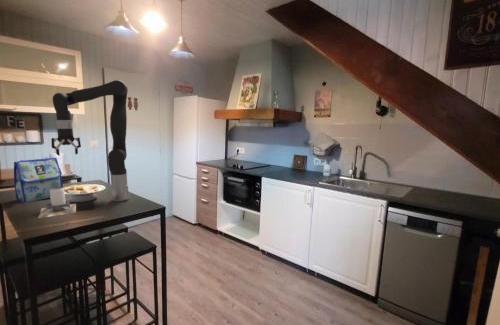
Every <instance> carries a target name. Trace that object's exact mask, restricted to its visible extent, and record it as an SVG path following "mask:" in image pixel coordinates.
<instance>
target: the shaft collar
mask: <svg viewBox="0 0 500 325" xmlns="http://www.w3.org/2000/svg"><path fill="white" fill-rule="evenodd" d="M65 202H66V204H63V205H57V206H51V202H49V203H47V204H46V205H45V206H46V207H45V208H47V210H46V211H44V212H42V213H43V216H49V215H51V214H52V213H54V212H57V211H63V212H65V213H70V212H72V208H70V204H71V203H70V200H65ZM70 214H71V213H70Z"/></svg>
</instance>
